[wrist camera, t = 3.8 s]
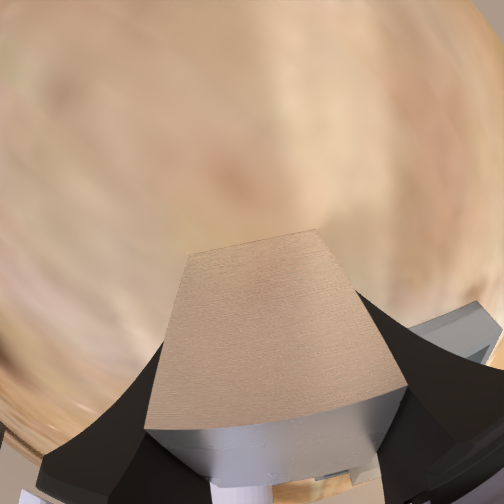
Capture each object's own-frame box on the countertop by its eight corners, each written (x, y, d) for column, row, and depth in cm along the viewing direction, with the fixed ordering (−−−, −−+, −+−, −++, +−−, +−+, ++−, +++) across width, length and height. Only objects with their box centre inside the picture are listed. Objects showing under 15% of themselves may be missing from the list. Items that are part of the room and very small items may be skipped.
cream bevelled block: (402, 430, 19) (415, 462, 15) (343, 450, 19) (352, 486, 15) (416, 406, 16) (433, 443, 13) (347, 430, 17) (359, 473, 13)
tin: (323, 324, 12) (370, 462, 6) (222, 344, 12) (219, 487, 6) (315, 228, 10) (407, 384, 4) (189, 255, 10) (144, 428, 4)
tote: (422, 419, 20) (431, 440, 17) (310, 455, 20) (315, 481, 18) (476, 300, 13) (502, 329, 10) (298, 359, 13) (309, 407, 10)
